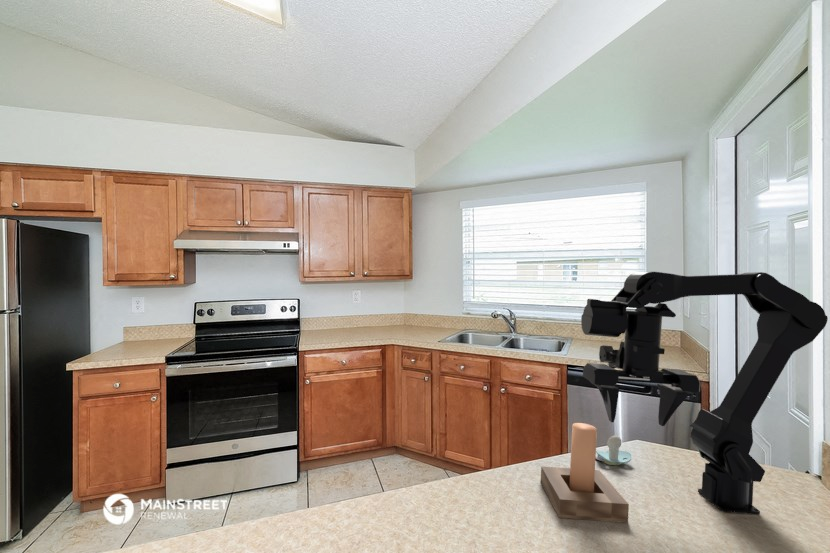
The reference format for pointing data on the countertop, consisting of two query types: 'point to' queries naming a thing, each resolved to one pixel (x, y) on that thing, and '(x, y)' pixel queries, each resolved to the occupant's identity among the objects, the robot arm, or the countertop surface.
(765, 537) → the countertop surface
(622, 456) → the pacifier
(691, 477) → the countertop surface
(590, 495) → the socket block
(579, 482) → the peg
